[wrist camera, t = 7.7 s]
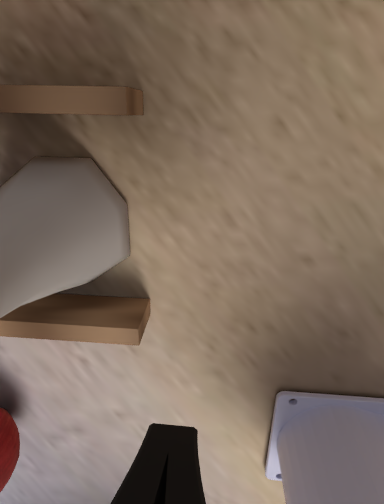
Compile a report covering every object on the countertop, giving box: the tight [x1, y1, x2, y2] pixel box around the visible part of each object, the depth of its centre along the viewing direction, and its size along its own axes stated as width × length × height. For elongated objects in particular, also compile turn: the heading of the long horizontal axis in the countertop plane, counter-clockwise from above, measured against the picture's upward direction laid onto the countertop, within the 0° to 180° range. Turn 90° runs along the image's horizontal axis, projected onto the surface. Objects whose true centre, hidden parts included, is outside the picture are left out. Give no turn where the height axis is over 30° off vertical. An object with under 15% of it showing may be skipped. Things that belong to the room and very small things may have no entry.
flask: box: [0, 156, 130, 318], centre depth 14 cm, size 7×7×10 cm
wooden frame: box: [0, 85, 150, 345], centre depth 17 cm, size 10×12×3 cm
